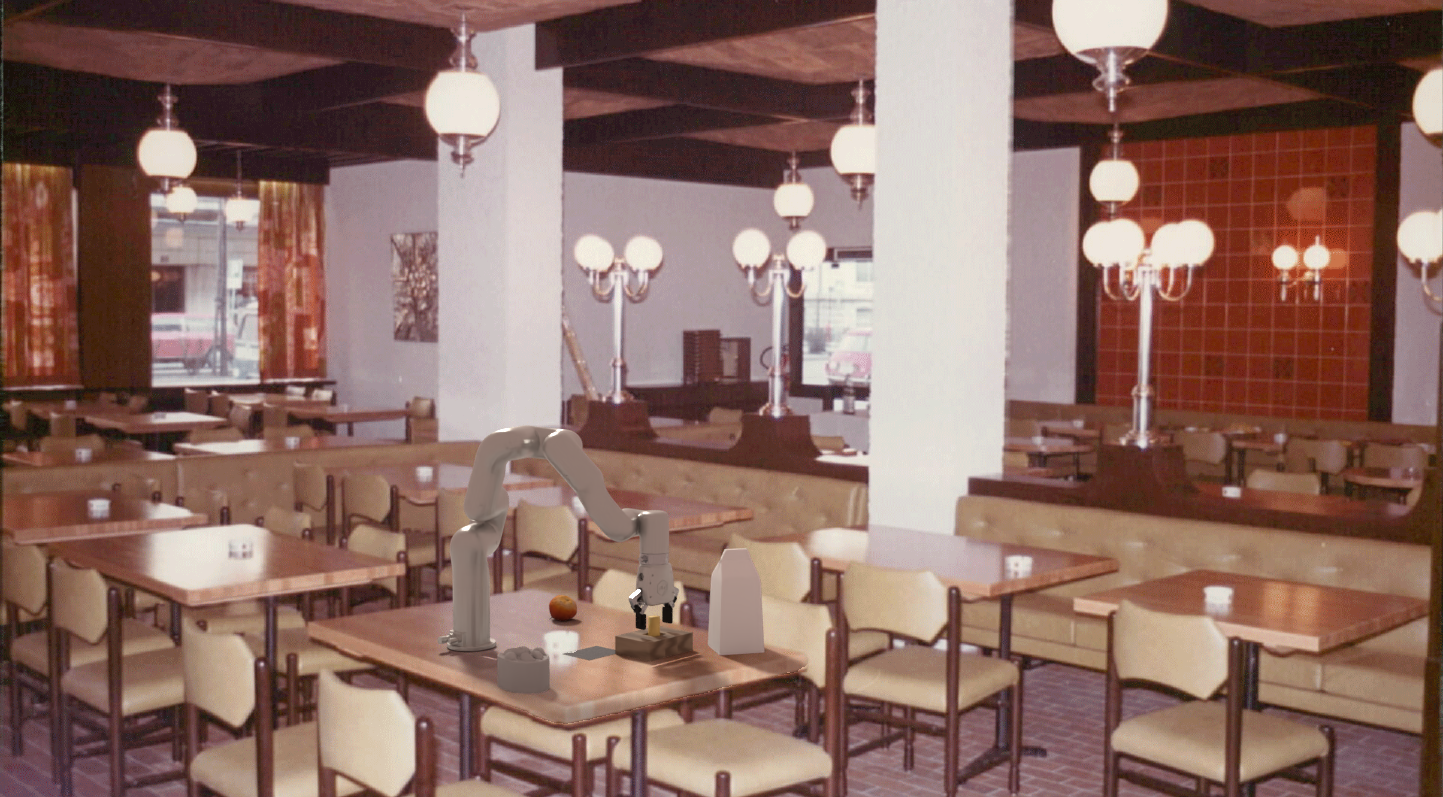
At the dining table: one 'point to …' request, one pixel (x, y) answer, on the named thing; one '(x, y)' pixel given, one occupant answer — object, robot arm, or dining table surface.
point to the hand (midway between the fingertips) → (654, 625)
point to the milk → (735, 605)
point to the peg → (654, 626)
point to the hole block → (653, 644)
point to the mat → (592, 653)
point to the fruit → (562, 608)
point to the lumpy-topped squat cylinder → (523, 670)
